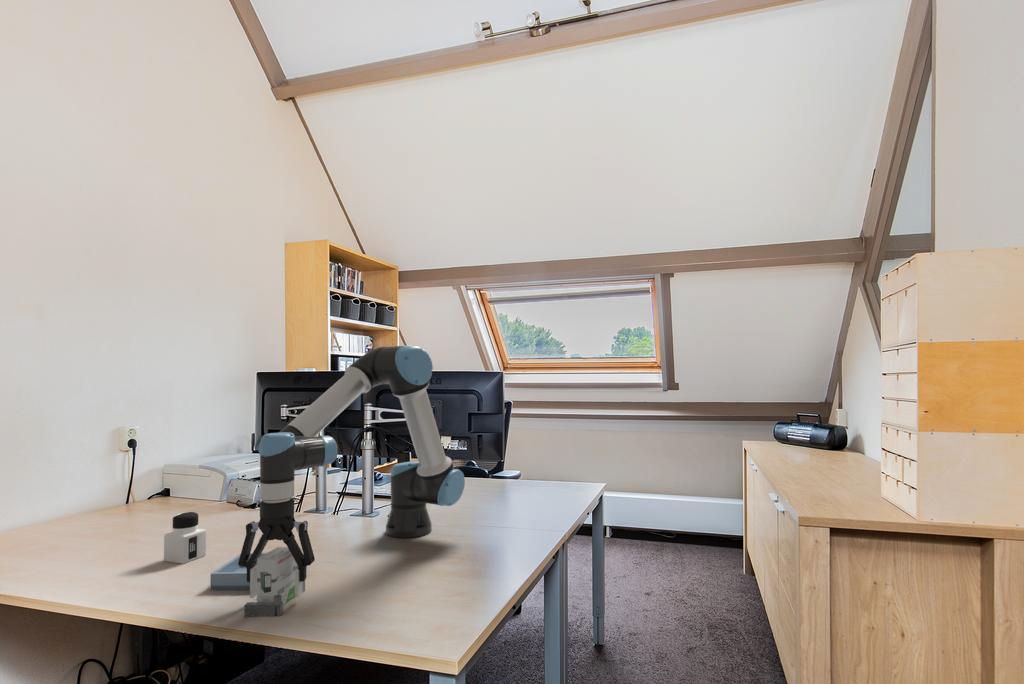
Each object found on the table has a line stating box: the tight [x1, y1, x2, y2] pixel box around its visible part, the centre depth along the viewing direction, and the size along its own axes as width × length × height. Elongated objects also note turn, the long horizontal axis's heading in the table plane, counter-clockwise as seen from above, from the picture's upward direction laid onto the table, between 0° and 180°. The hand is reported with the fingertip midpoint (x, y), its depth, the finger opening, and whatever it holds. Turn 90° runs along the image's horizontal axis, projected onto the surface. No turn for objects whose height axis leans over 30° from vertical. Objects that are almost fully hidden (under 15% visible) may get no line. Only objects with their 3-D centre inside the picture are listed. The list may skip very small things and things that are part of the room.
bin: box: [210, 551, 298, 591], centre depth 147 cm, size 16×16×4 cm
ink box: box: [256, 546, 295, 606], centre depth 131 cm, size 9×5×12 cm, turn 171°
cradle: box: [243, 579, 306, 617], centre depth 131 cm, size 8×15×4 cm, turn 179°
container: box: [163, 511, 207, 565], centre depth 164 cm, size 8×8×13 cm
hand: (276, 595), depth 131 cm, fingers open, 10 cm apart
